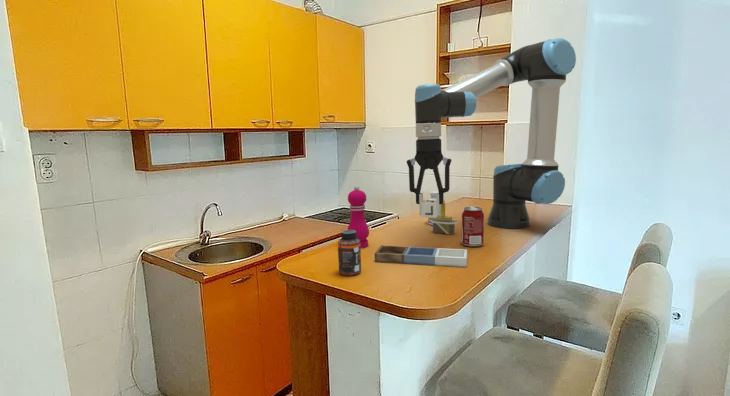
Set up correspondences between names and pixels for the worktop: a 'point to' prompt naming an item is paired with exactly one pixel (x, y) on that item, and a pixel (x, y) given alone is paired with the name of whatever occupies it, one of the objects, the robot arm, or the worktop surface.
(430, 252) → the blue square tray
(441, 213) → the supplement bottle
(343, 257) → the supplement bottle
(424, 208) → the letter cube
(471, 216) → the soda can
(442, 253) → the bin white
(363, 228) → the pepper mill
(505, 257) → the worktop surface
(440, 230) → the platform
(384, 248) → the bin walnut
